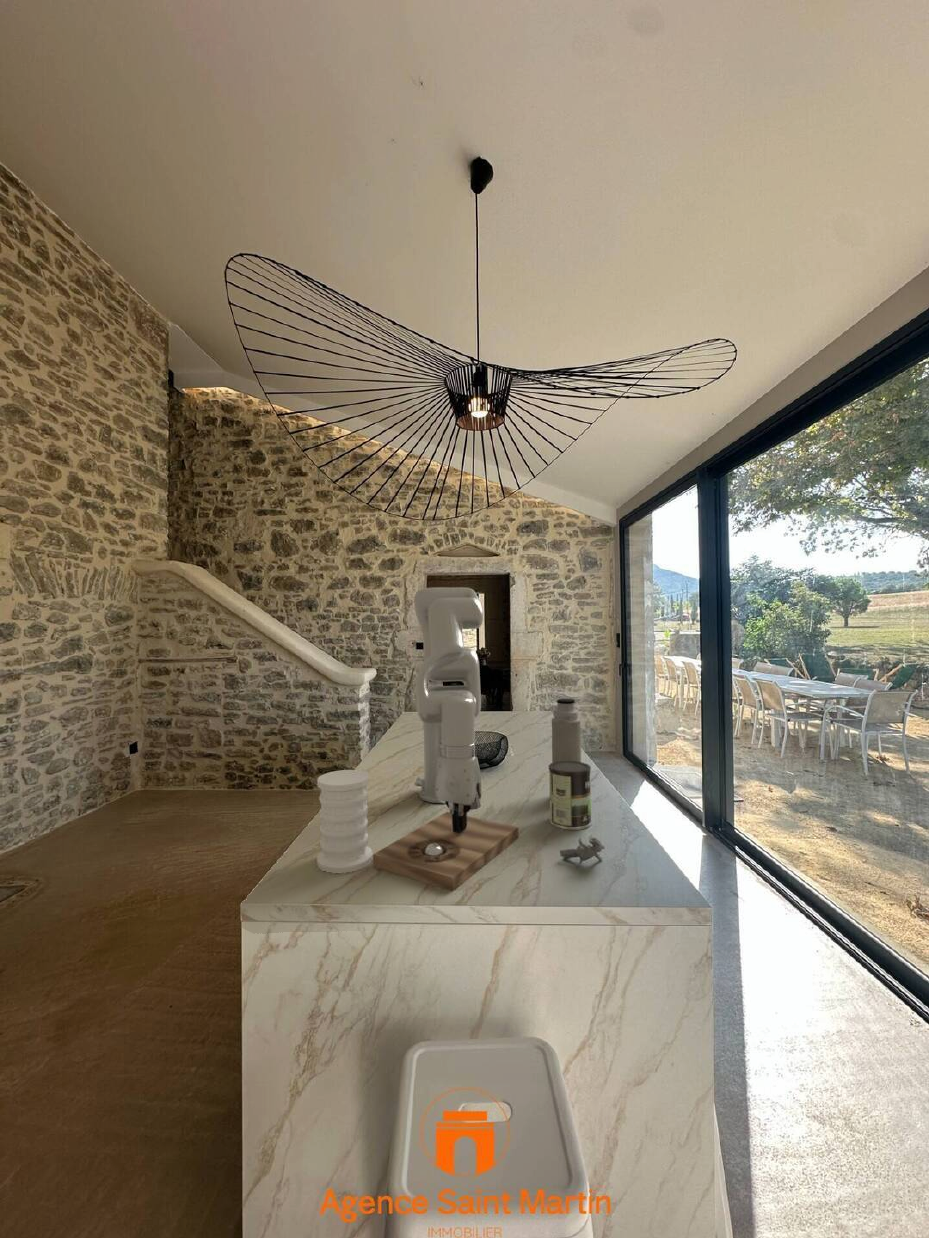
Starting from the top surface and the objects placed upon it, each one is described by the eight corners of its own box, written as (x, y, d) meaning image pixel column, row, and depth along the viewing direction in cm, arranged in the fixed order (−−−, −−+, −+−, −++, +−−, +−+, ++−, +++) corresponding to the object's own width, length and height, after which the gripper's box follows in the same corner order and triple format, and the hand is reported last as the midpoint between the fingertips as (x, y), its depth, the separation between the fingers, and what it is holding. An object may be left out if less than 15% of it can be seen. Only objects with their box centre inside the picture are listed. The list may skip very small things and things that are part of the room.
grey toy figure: (573, 850, 120) (611, 844, 115) (574, 878, 116) (613, 873, 111) (550, 831, 115) (588, 824, 110) (550, 860, 111) (590, 854, 106)
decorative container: (326, 848, 122) (324, 769, 122) (377, 848, 122) (375, 769, 122) (309, 873, 111) (308, 785, 110) (366, 873, 110) (364, 785, 110)
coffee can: (590, 815, 140) (590, 761, 139) (592, 831, 129) (591, 772, 129) (550, 813, 142) (549, 759, 142) (548, 828, 132) (547, 770, 131)
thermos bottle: (555, 792, 158) (554, 696, 158) (583, 794, 155) (581, 697, 155) (550, 801, 150) (549, 700, 150) (579, 804, 148) (578, 702, 147)
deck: (447, 821, 137) (447, 811, 137) (518, 837, 127) (518, 827, 126) (373, 866, 113) (372, 854, 113) (453, 890, 103) (452, 877, 103)
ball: (418, 853, 113) (428, 837, 116) (425, 864, 115) (434, 848, 118) (432, 858, 111) (442, 841, 114) (439, 870, 113) (449, 853, 116)
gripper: (422, 750, 124) (423, 829, 125) (478, 759, 116) (479, 843, 117) (440, 743, 131) (442, 818, 131) (495, 751, 123) (496, 831, 123)
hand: (459, 830), depth 124 cm, fingers closed
